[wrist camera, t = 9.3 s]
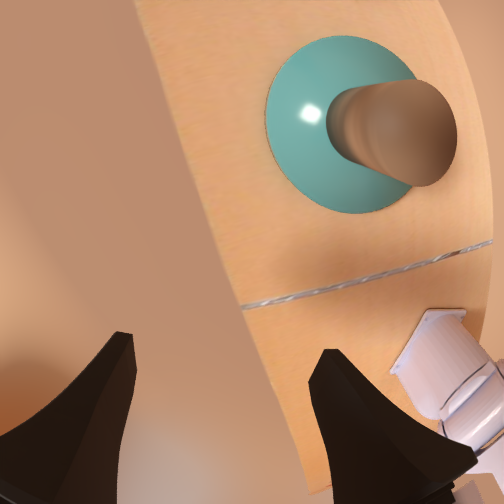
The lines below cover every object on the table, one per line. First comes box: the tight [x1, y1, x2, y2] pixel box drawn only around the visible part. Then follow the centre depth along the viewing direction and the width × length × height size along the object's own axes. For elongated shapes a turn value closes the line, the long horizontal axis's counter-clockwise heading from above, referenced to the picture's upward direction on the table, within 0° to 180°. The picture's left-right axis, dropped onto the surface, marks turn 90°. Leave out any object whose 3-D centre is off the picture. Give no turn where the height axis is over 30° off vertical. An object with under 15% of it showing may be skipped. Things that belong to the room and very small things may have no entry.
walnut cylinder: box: [326, 79, 457, 187], centre depth 12 cm, size 5×5×6 cm
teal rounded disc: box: [265, 36, 417, 214], centre depth 16 cm, size 12×12×1 cm
